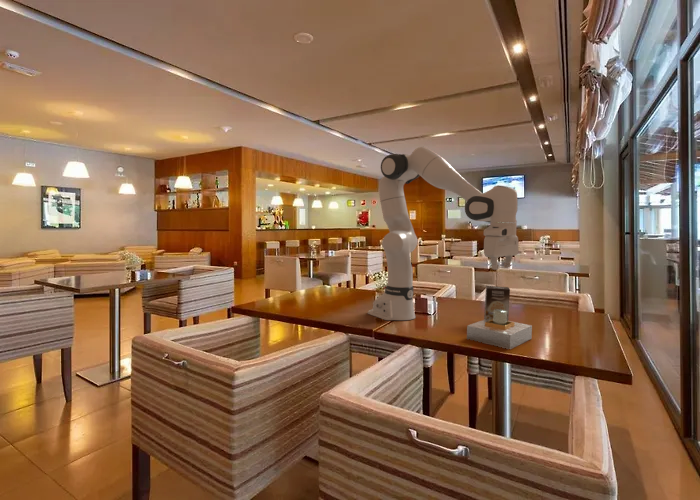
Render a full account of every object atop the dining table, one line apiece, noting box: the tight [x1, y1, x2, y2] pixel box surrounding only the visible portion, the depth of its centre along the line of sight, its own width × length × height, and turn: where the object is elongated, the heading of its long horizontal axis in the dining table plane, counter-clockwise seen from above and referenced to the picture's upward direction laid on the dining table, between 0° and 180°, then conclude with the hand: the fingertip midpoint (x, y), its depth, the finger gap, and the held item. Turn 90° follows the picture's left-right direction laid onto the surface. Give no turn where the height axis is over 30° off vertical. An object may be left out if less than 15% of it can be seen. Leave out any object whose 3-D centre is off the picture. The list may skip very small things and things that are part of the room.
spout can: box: [488, 309, 507, 326], centre depth 141 cm, size 7×5×9 cm
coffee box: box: [483, 285, 511, 321], centre depth 159 cm, size 9×6×16 cm
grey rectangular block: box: [466, 317, 533, 350], centre depth 141 cm, size 16×18×6 cm
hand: (501, 268), depth 140 cm, fingers open, 8 cm apart
